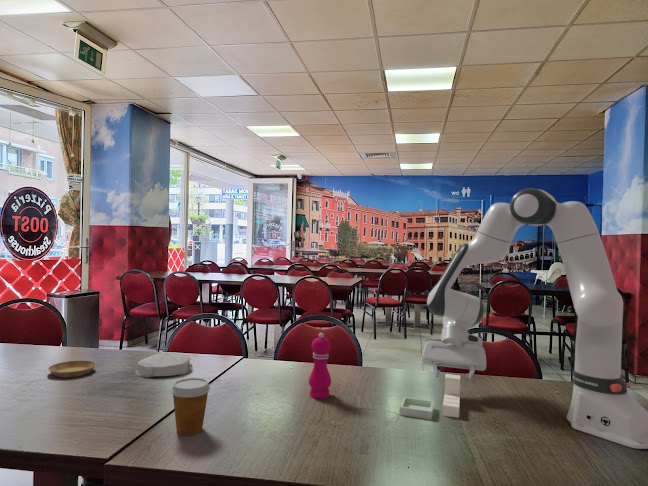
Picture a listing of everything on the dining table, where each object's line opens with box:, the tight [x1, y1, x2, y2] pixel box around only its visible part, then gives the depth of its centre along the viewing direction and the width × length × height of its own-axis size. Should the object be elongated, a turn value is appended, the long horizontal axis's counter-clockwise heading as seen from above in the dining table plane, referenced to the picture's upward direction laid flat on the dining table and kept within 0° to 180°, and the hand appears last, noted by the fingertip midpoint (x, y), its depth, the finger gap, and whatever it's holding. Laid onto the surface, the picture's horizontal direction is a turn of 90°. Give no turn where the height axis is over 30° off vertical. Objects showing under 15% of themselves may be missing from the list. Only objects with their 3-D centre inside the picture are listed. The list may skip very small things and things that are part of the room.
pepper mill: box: [308, 332, 332, 400], centre depth 140 cm, size 7×7×20 cm
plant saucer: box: [47, 360, 97, 378], centre depth 156 cm, size 15×15×3 cm
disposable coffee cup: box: [170, 377, 211, 436], centre depth 112 cm, size 10×10×12 cm
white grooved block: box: [442, 393, 461, 419], centre depth 130 cm, size 10×4×3 cm, turn 162°
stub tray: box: [398, 396, 435, 420], centre depth 129 cm, size 9×9×2 cm
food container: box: [135, 351, 194, 379], centre depth 162 cm, size 20×20×7 cm
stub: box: [444, 373, 461, 397], centre depth 138 cm, size 4×4×8 cm
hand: (452, 378), depth 140 cm, fingers open, 8 cm apart
